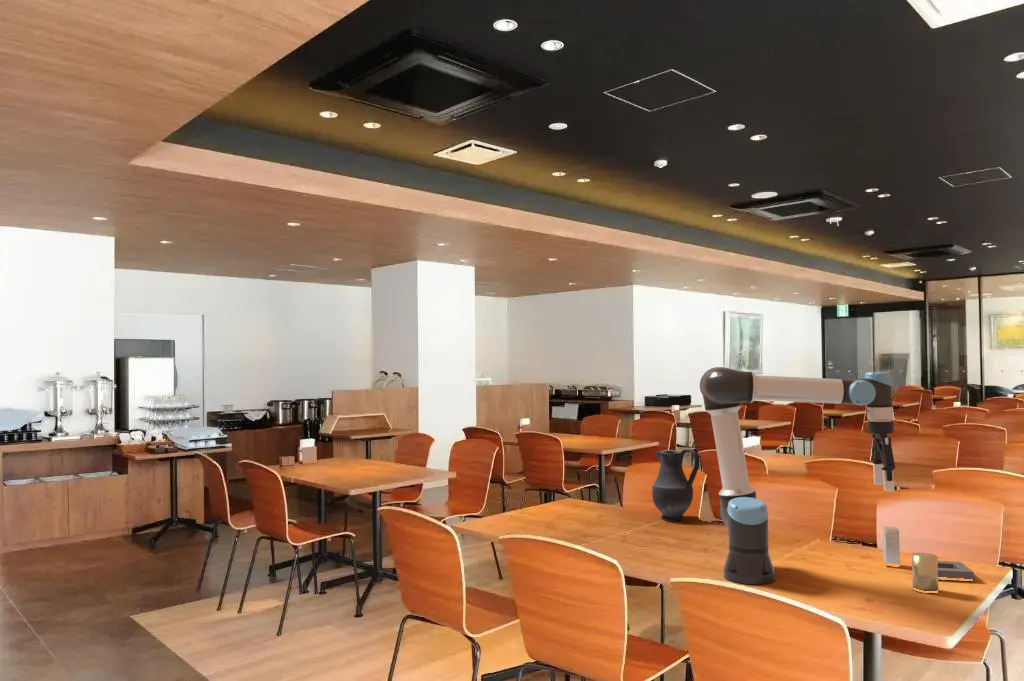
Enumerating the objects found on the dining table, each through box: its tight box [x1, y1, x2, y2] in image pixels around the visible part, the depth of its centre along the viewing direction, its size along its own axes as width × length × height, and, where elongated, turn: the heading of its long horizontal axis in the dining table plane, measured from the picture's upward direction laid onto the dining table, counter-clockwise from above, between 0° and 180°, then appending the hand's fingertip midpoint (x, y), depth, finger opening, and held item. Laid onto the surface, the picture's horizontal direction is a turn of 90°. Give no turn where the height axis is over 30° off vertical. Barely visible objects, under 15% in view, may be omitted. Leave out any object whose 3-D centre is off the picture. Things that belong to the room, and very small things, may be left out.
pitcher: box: [651, 448, 700, 522], centre depth 319 cm, size 17×21×30 cm
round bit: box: [911, 552, 940, 591], centre depth 215 cm, size 6×6×10 cm
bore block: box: [938, 560, 975, 580], centre depth 229 cm, size 12×12×3 cm
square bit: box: [882, 526, 901, 565], centre depth 242 cm, size 4×4×12 cm
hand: (884, 487), depth 237 cm, fingers open, 13 cm apart
